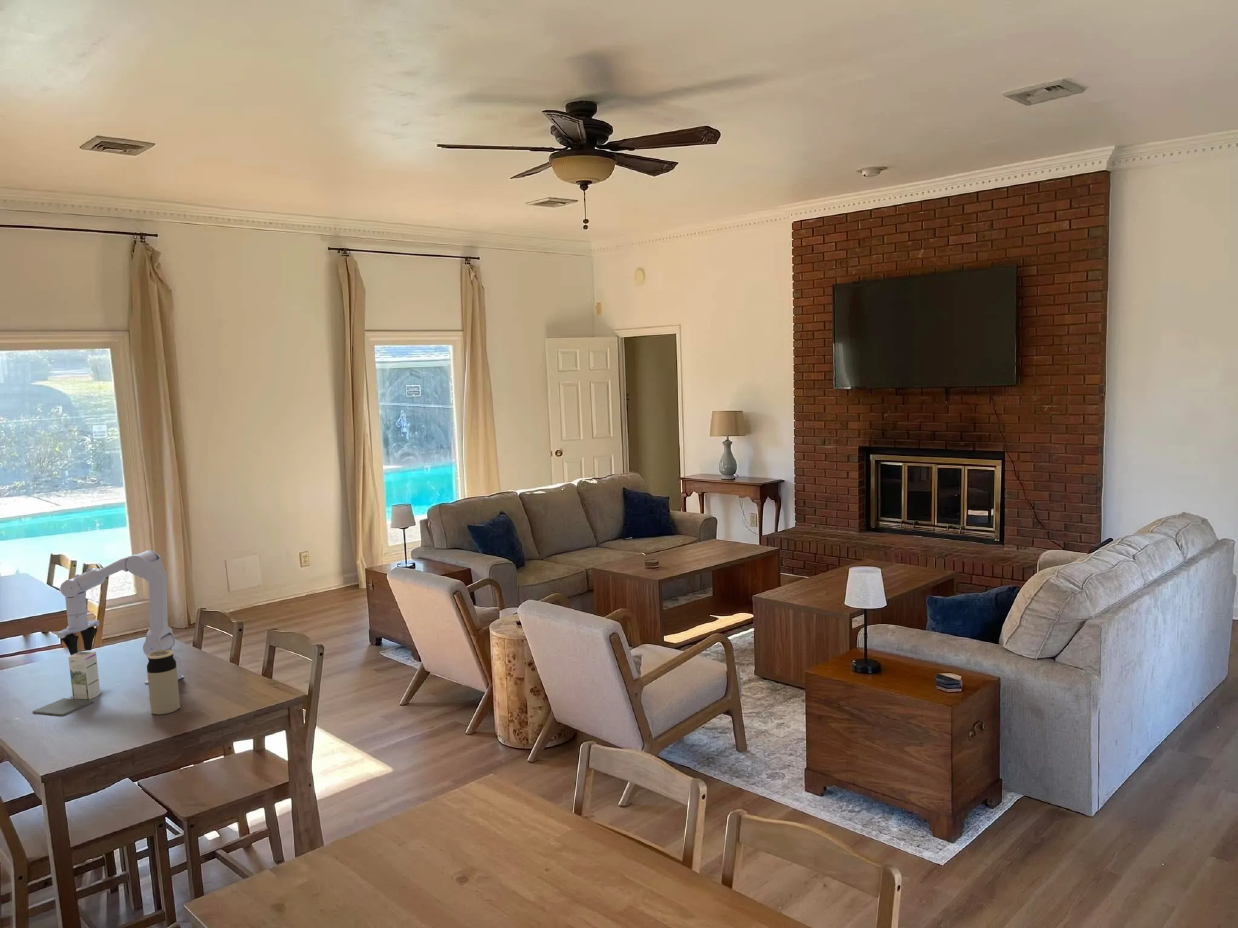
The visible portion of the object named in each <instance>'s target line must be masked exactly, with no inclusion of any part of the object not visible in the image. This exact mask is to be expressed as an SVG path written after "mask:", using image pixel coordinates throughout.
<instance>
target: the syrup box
mask: <svg viewBox="0 0 1238 928" xmlns="http://www.w3.org/2000/svg"><path fill="white" fill-rule="evenodd" d="M97 659H98V658H97V652H96V651H77V653H75V654H73V655H70V656H68V665H69V666H68V667H69V673H70V674H69V675H70V682H71V693H72V699H79V700H90V701H91V700H93V699H94V698H95V697H98V696H100V695H101V687H100V677H99V667H98V660H97Z"/></svg>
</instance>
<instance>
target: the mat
mask: <svg viewBox="0 0 1238 928" xmlns="http://www.w3.org/2000/svg"><path fill="white" fill-rule="evenodd" d="M94 703H95V702H94V700H91V699H90V700H79V699H73V698H67V697H63V698H61V699H59V700H55V701H54V702H51V703H49V704H46V705H43V706H42V707H39V708H36V709H34V710H32V714H38V713H39V714H40V713H41V714H40V715H48V714H53V715H52V716H57V715H58V717H64V716H66V714H67V715H70V714H71V713H73V711H74V712H75V711H76V712H77V711H78V710H80V709H82V708H84V707H87V706H89V705H92V704H94ZM39 714H38V715H39Z"/></svg>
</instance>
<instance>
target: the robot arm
mask: <svg viewBox="0 0 1238 928" xmlns="http://www.w3.org/2000/svg"><path fill="white" fill-rule="evenodd" d="M121 571H123V572H127V573H130V574H132V575H134V576H137V577H139V578H141V579H144V580H145V581H146V582H148V585H149V586H148V589H149V590H148V591H149V592H148V594H149V595H148V596H149V597H148V600H149V601H148V602H149V605H148V606H149V607H148V608H149V615H148V617H149V628H148V631H147V633H146V635H145V641H144V643H143V646H142V652H143V653H144V654H145V656H147V655H148V654H149V653H152V652H155V651H159V650H173V647H174V646H175V644H176V638H175V636H174V633H173V628H172V627H170V626H169V622H168V621H169V619H168V616H169V613H168V611H169V610H168V599H169V598H168V573H167V571H166V569H165V567H164V565H163V563H162V556H161V555H160V554H158V553H157V552H155V551H154V550H149V549H148V550H145V551H143V552H138V553H135V554H132V555H128V556H126V557H123V558H120V559H118V560H116V561H114V562H111V564H108V565H107V566H104V567H102V568H99V567H94V568H93V567H89V568H87V569H86V571H84V572H83V573H81V574H78V573H77V574H75V575H74V576H73V577H72V578H69V579H66V580H65V581H63V582H62V583H61V585H60V588H59V590H60V593H61V595H62V596H64V598H65V609H66V617H67V624H68V625H67V626H66V628H63V629H62V630H60V631H57V639H60V640H61V641H62V642H63V643H64V644H65V645H66V647H67V649H68V651H69V654H70V656H71V655H73V654H75V653H78V640H79V637H80V636H79V635H75V634H78V633H80V634H81V638H82V641H83V648H84V651H92V649H93V644H94V643H93V642H94V639H95V637H96V635H97V632H98V627H99V626H100V621H99V619H93V620H88V617H89V616H88V609H87V599H86V596H87V594H86V593H87V591H89V590H91V589H93V588H95V587H98V586H100V585H102V584H103V583H104V582H105V581H106V578H107V577H109V576H112V575H114V574H116V573H118V572H121ZM173 658H174V659H175V661H176V667H177V678H178V681H179V680H180V679H182V678H185V675H183V669H182V660H181V658H180V656H178V655H175V653H174V654H173ZM144 684H148V679H147V680H145V681H144Z"/></svg>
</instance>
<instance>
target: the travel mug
mask: <svg viewBox="0 0 1238 928" xmlns="http://www.w3.org/2000/svg"><path fill="white" fill-rule="evenodd" d="M173 654H174V655H175V651H174V650H173V649H172V650H159V651H155V652H152V653H149V654H148V655H146V658H147V659H148V663H147V664H146V673H147V680H148V683H147V684H148V692H149V693H148V694H149V706H150V712H151V714H153V715H159V716H161V715H166V714H167V715H168V714H171V713H174V712H176V711H178V709H180V708H181V703H180V700H181V699H180V692H179V682H178V681H179V680H178V678H177V667H176V661H175V659H174V658H173Z"/></svg>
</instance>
